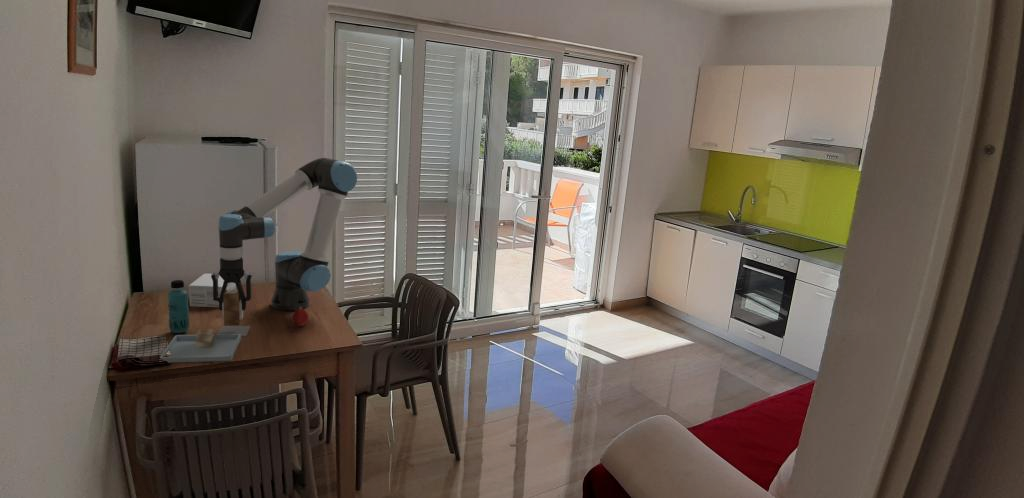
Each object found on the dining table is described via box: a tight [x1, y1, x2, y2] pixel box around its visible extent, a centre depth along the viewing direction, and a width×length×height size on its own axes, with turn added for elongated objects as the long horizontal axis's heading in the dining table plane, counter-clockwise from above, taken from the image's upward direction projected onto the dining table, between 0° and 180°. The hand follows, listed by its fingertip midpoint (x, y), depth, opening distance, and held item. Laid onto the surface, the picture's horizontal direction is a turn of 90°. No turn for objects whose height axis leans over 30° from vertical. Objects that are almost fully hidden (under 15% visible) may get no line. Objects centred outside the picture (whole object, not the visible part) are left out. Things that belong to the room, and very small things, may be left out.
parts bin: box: [159, 333, 242, 364], centre depth 203 cm, size 21×19×2 cm
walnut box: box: [223, 289, 243, 326], centre depth 218 cm, size 5×5×12 cm
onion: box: [292, 307, 309, 328], centre depth 230 cm, size 6×6×8 cm
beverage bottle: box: [167, 279, 190, 334], centre depth 213 cm, size 6×7×20 cm
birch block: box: [195, 328, 215, 348], centre depth 206 cm, size 4×4×5 cm
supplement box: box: [188, 273, 237, 308], centre depth 250 cm, size 17×13×9 cm
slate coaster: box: [217, 325, 251, 338], centre depth 220 cm, size 10×10×1 cm
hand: (232, 318), depth 219 cm, fingers closed on walnut box, 5 cm apart
